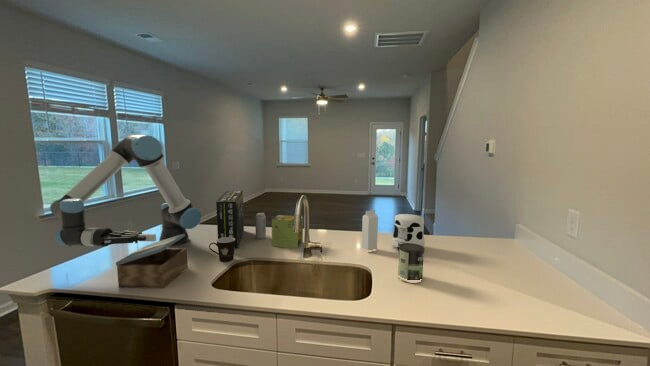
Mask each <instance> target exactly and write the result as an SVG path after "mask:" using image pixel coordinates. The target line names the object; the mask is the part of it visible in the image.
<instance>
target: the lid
mask: <svg viewBox="0 0 650 366" xmlns="http://www.w3.org/2000/svg"><path fill="white" fill-rule="evenodd" d="M183 237H185V233H184V234H181V235H178V236H175V237H171V238H168V239H165V240H162V241H157V242H156V241H155V242H153V243H150V244H146V245H145V246H143V247H140V248H139V249H137V250H135V251H134V252H132V253H130V254H129V255H127V256H124V257H123V258H121V259H119V260H118V261H115V265H116V266H117V265H120V264H123V263H126V262H130V261H133V260H136V259H139V258H142V257H146V256H149V255H152V254H155V253H158V252H161V251H163V250H164V249H166V248H170V247H171V246H173V245H172V244H174V243H175V242H177V241H178V240H180V239H181V238H183Z"/></svg>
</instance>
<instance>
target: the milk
mask: <svg viewBox="0 0 650 366" xmlns="http://www.w3.org/2000/svg"><path fill="white" fill-rule="evenodd" d="M361 220H362V224H361V225H362V227H361V229H362V230H361V249H362V248H364V249H366V250H373V249H377V250H378V232H379V231H378V227H379V217H378V215H377V214H376V210H366V211H365V214H363V215H362V219H361Z"/></svg>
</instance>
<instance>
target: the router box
mask: <svg viewBox="0 0 650 366" xmlns="http://www.w3.org/2000/svg"><path fill="white" fill-rule="evenodd" d="M243 192H244V191H243V190H226V191H225V192H224V193H222V195H221V196H220V197H218V198H217V200H216V201H215V205H216V225H217V226H216V227H217V229H216V230H217V240H218V239H220V238H224V237H232V238H235V247H234V250H235V249H240V248H239V247H240V244H241V240H242V238H243V234H244V231H245V226H244V224H245V223H244V222H245V221H244V220H245V219H244V197H243V196H244V194H243Z"/></svg>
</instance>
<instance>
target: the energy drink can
mask: <svg viewBox="0 0 650 366" xmlns="http://www.w3.org/2000/svg"><path fill="white" fill-rule="evenodd" d="M254 218H255V239H257V240H265V238H266V237H267V230H266V228H267V226H266V224H267V223H266V222H267V219H266V215H265V212H258V213H256V215H255V217H254Z"/></svg>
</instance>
